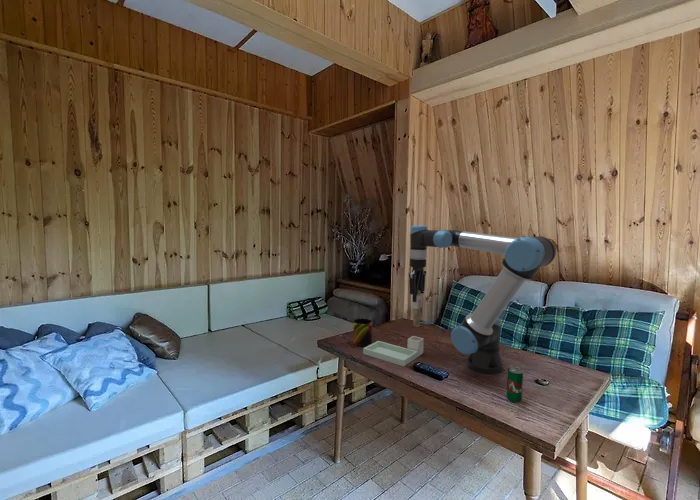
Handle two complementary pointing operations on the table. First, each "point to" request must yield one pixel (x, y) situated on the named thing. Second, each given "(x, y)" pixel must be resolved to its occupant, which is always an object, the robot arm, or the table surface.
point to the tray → (390, 353)
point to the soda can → (514, 383)
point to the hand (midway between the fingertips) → (416, 307)
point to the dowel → (417, 312)
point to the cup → (416, 344)
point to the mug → (362, 332)
